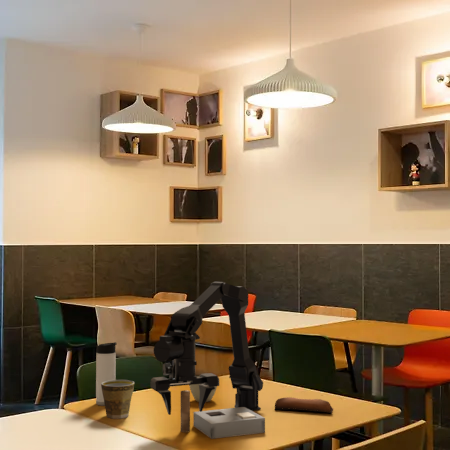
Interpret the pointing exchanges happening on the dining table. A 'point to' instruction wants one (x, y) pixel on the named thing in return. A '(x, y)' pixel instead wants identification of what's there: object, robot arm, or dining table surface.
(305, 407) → the sunglasses case
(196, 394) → the flower pot
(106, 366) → the travel mug
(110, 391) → the ceramic cup
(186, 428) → the tan rounded rod
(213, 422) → the panel
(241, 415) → the on button
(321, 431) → the dining table surface
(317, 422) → the dining table surface
